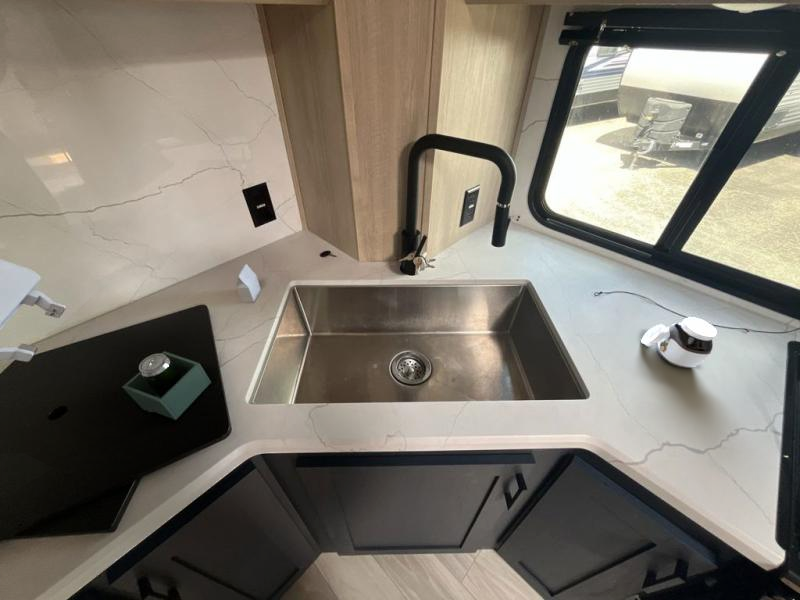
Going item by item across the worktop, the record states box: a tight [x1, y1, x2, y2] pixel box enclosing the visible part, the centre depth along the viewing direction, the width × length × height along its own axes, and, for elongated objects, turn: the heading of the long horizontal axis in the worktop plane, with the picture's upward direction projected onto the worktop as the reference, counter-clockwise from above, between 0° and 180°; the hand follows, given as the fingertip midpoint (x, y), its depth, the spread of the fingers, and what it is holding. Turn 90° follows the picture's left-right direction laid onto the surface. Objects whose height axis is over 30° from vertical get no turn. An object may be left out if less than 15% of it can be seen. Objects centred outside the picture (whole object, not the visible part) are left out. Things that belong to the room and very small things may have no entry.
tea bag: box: [235, 263, 262, 304], centre depth 99 cm, size 4×7×10 cm, turn 1°
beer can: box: [138, 353, 182, 398], centre depth 70 cm, size 5×5×12 cm
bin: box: [121, 350, 212, 421], centre depth 72 cm, size 10×10×9 cm
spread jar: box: [641, 316, 718, 369], centre depth 84 cm, size 12×11×12 cm
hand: (49, 332), depth 49 cm, fingers open, 8 cm apart
